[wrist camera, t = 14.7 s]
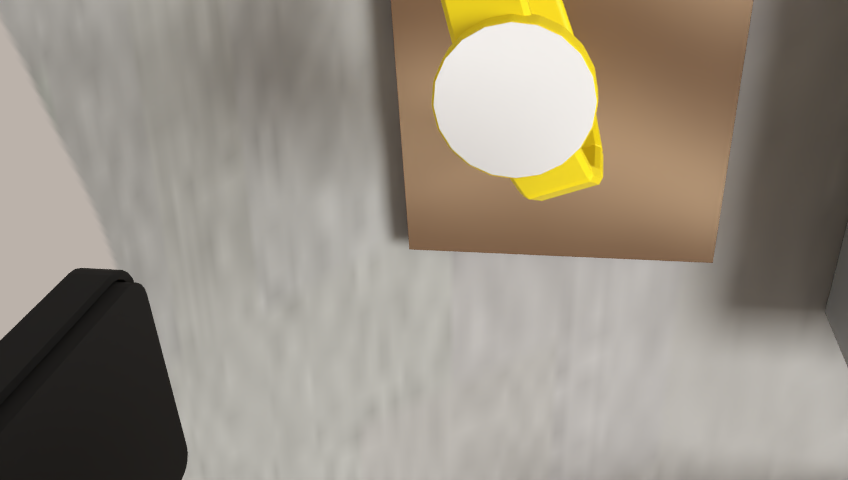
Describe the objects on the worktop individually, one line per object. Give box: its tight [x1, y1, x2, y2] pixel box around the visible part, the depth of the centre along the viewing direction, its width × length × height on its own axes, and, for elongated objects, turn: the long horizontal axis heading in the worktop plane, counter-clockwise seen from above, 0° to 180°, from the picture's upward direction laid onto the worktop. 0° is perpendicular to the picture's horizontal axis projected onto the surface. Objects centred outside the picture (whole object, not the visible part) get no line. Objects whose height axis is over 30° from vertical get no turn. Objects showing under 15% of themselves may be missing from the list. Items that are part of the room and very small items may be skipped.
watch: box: [432, 0, 603, 201], centre depth 16 cm, size 6×3×6 cm, turn 24°
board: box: [391, 0, 753, 263], centre depth 19 cm, size 12×8×1 cm, turn 4°
